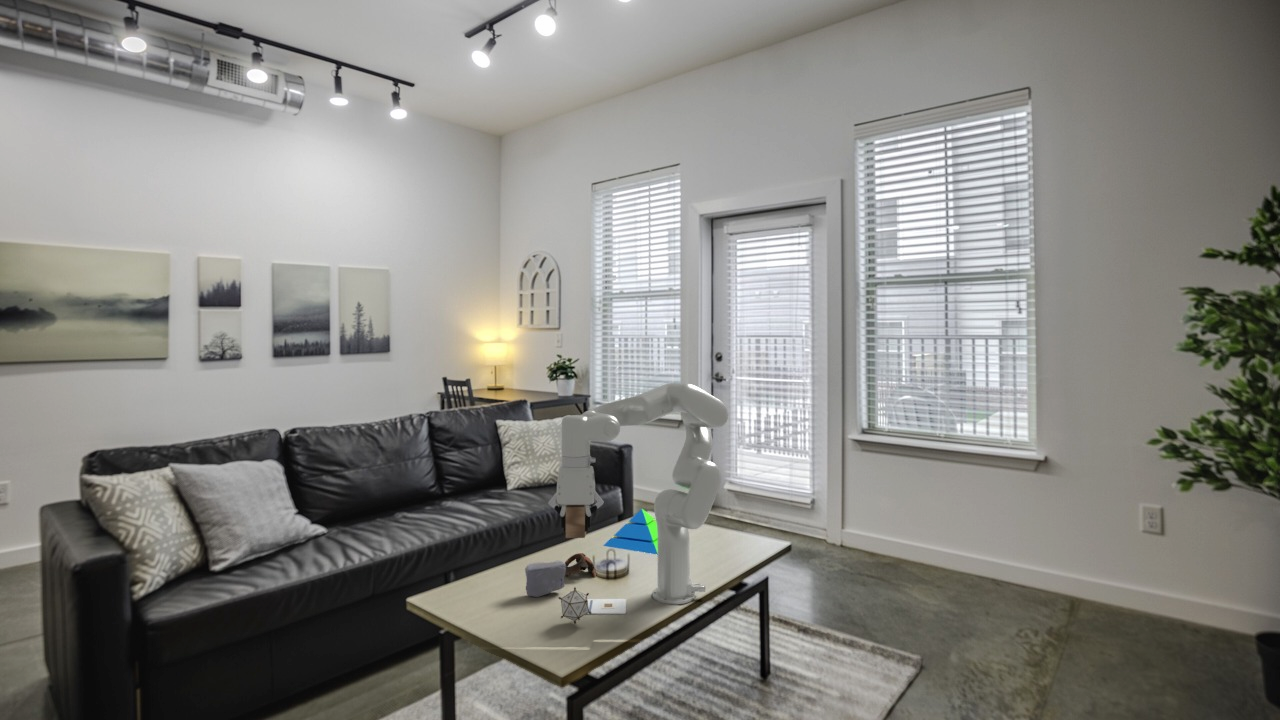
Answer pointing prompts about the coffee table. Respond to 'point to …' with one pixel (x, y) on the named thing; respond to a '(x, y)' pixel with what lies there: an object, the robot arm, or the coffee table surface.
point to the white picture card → (607, 606)
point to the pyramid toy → (637, 534)
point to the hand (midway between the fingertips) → (576, 529)
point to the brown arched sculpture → (579, 564)
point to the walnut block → (575, 521)
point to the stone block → (544, 577)
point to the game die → (574, 605)
